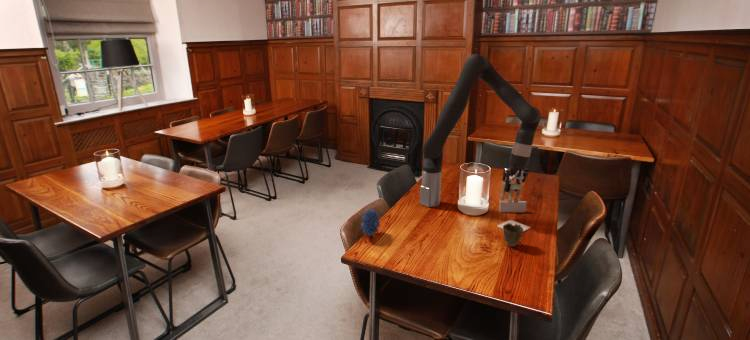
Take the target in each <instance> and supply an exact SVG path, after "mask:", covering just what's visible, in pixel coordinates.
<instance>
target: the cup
mask: <svg viewBox="0 0 750 340" xmlns="http://www.w3.org/2000/svg"><path fill="white" fill-rule="evenodd" d="M502 233H503V239H504V241H505V242H506V245H507V246H508V247H511V248H514V247H516V246H517V244H518V243H520V241H521V239H522V235H523V233H524V232H523V229H522V227H521V226H520V225H517V224H515V226H514V225H512V223H511V224H509V223H508V224H507V225H506V224H505V226H503V229H502Z"/></svg>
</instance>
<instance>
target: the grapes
mask: <svg viewBox="0 0 750 340" xmlns="http://www.w3.org/2000/svg"><path fill="white" fill-rule="evenodd" d="M379 219H380V214H379V213H377V210H375V209H373V208H372V209H368V210H366V211H365V214H364V215H363V216H362V217H361V220H362V221H363V222H361V224H360V227H361V228H362V232H363V234H364V235H365V236H366V235H367V236H369V237H372V236H373V235H374V234H375V233H377V232H378V228H379V226H380V224H381V223H380V221H379Z"/></svg>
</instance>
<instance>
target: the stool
mask: <svg viewBox="0 0 750 340" xmlns="http://www.w3.org/2000/svg"><path fill="white" fill-rule="evenodd" d="M505 184H506V183H505V182H504V181H503V184H502V188H501V192H500V196H499V200H500V201H505V200H504V199H507V200H506V201H507V203H511V202H512V201H514V202H515V203H518V201H520V200H519V199H520V196H521V192H522V187H523V184H521V185H520V184H517V182H516V181H512V183H511V187H510V191H509V192H505V191H504V188H505ZM515 189H517V191H514V190H515ZM506 193H507V194H506ZM505 195H506V198H505ZM514 195H515V196H514ZM513 198H514V199H513Z"/></svg>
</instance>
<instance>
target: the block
mask: <svg viewBox="0 0 750 340" xmlns="http://www.w3.org/2000/svg"><path fill="white" fill-rule="evenodd" d="M507 201H508V200H500V201H499V207H498V211H499V213H526V211H527V210H526V209H527V201H526V200H518V203H515V202H514V200H512V202H511V203H507Z"/></svg>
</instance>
